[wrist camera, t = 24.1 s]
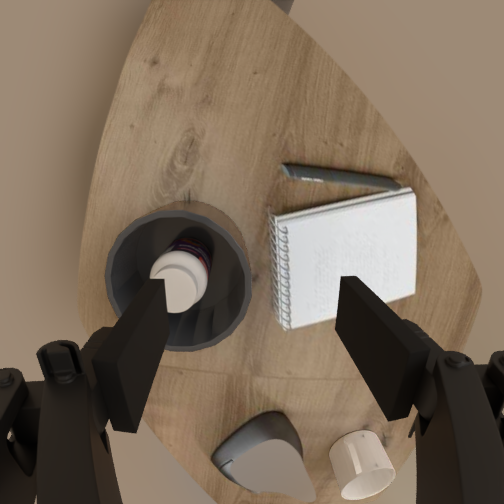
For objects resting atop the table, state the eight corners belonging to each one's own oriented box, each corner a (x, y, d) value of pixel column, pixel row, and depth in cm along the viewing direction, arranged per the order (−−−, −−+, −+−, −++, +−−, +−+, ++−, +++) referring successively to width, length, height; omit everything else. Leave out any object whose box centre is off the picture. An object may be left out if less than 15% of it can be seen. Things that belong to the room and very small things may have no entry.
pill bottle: (222, 258, 35) (218, 290, 26) (191, 292, 36) (178, 332, 27) (185, 226, 34) (168, 246, 25) (155, 261, 35) (129, 292, 26)
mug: (377, 451, 47) (394, 486, 38) (331, 467, 47) (343, 505, 38) (375, 411, 44) (397, 450, 35) (322, 430, 44) (336, 472, 35)
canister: (129, 203, 34) (97, 214, 25) (246, 198, 35) (251, 207, 26) (140, 312, 37) (117, 349, 28) (247, 311, 38) (252, 351, 29)
